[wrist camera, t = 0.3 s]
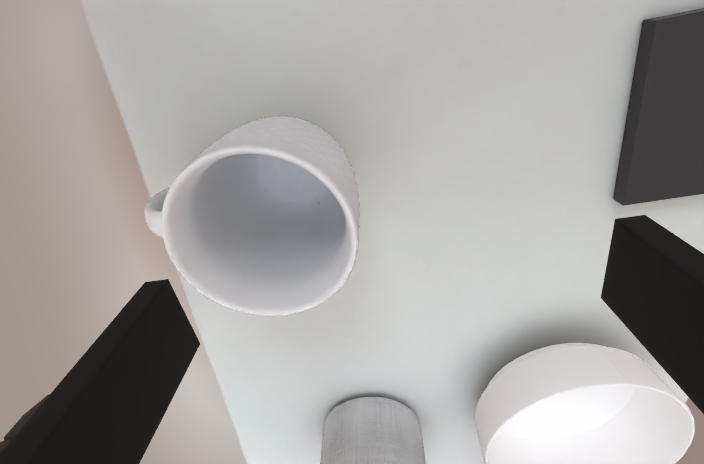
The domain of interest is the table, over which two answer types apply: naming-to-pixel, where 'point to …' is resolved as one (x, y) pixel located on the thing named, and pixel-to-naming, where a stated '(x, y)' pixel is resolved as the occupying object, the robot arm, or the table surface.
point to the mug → (263, 218)
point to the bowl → (581, 410)
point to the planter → (372, 433)
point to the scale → (665, 113)
